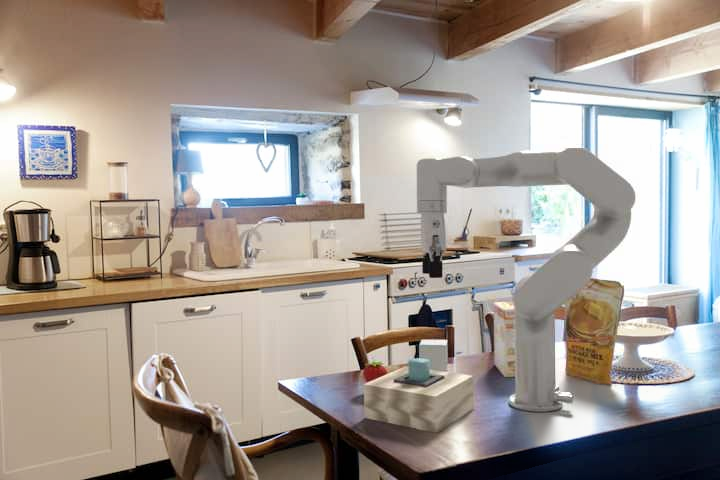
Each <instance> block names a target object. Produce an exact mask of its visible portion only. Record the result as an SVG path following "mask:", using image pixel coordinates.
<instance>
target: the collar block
mask: <svg viewBox="0 0 720 480" xmlns="http://www.w3.org/2000/svg"><path fill="white" fill-rule="evenodd" d="M474 393H475V391H474V376H473V375H470V374H463V373H455V372H449V371H448V372H442V371H435V370H430V379H429V380H427V381H425V382H420V381H413V380H409V369H408V366H407V365H405V366H403V367H400V368H398V369H395V370H394V371H391V372H389V373H387V374H386V375H384V376H382V377H380V378H377V379H375V380H373V381H370V382H368V383H367V382H365V383H364V384H363V405H364V406H363V407H364V409H363V410H364V412H363V413H364V419H367V420H374V421H378V422H382V423H387V424H393V425H397V426H402V427H407V428H412V429H415V428H416V430H422V431H426V432H431V433H439V432H440V431H442V430H443V429H445V428H447V427H448V426H450V425H451V424H452V423H454V422H456V421H457V420H458V419H460V418H462V417H464V416H465V415H466V414H468V413H470V412H471V411H472V410H474V409H475V403H474V402H475V401H474V400H475V398H474V397H475V394H474Z"/></svg>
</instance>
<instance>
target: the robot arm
mask: <svg viewBox="0 0 720 480" xmlns="http://www.w3.org/2000/svg"><path fill="white" fill-rule="evenodd" d="M566 185H567V186H570V187H571V188H573V189H574V191H576V192H577V193H578V194H579V195H581V197H583V199H585V200H587V201H588V202H589V203H591V204H592V205H593V209H594V212H593V216H592V218H591V219H590V220H589V221H588V223H587V224H586V225H585V226H584V227H583V228H581V230H579V232H577V233H576V234H575V235H574V236H573V237H572V238H571V239H569V240H568V241H566V243H565V244H563V245H562V246H561V247H559V248H557V249H556V250H554V252H552V254H551V255H550V256H549V259H548V260H547V261H546V262H545V263H544V264H543V265H541V267H539V268H538V269H537V270H536V271H534V273H533V274H530V275H526V276H524V277H522V278H521V279H519V281H518V282H517V283H516V285H515V287H514V290H513V295H512V302H513V305H514V331H515V332H514V333H515V377H514V383H515V384H514V386H515V387H514V389H515V392H514V394H511V395H510V396H509V398H508V403H509V405H510V406H511V407H514V408H516V409H518V410H522V411H527V412H535V413H537V412H539V413H541V412H543V413H544V412H552V411H556V410H559V409H561V408H562V407H563V403H564V404H570V405H572V404H573V402H574V396H573V395H572V393H570V392H562V391H561V390H560V385H558V384H557V385H556V322H555V321H556V317H555V312H557V310H559V309H560V308H561V307H562V306H563V305H565V303H566V302H567V301H568V300H569V299H570V298H572V297H573V296H574V295H575V294H576V293H578V292H579V291H580V290H581V289H582V288H583V287H584V286H585V285H586V284H587V283H588V282H589V280H590V278H592V276H593V272H594V269H595V268H596V267H597V266H598V265H599V264H600V263H601V262H603V261H604V260H605V259H606V258H607V257H608V256H609V255H610V254H611V253H613V252H614V250H616V249H617V248H618V247H619V245H621V243H622V242H623V241H624V239H625V238H626V236H627V235H628V232H629V231H630V230H629V229H630V226H631V222H632V221H631V220H632V208H633V207H634V205H635V203H636V191H635V188H634V187H633V186H632V184H630V182H628V180H626V179H625V178H624V177H622V176H621V175H620V174H619V173H617V172H616V171H615V170H614V169H613V168H611V167H610V166H609V165H607V164H606V163H605V162H604V161H602V160H601V159H600V158H599V157H597V155H595V154H594V153H593V152H591V151H590V150H588V149H587V148H586V147H584V146H581V145H571V146H568V147H565V148H559V149H544V150H543V149H541V150H540V149H539V150H521V151H515V152H511V153H509V154H506V155H500V156H494V157H481V158H480V157H478V158H470V157H468V156H464V155H463V156H462V155H458V156H452V157H447V158H438V157H437V158H436V157H430V158H429V157H428V158H427V157H426V158H422V159H418V161H417V163H416V214H417V215H420V247H421V251H422V258H421V259H422V260H421V261H422V263H421V265H422V274H423V275H424V274H425V275H426V274H428V277H429V278H430V279H442V278H443V255H442V254H445V253H446V252H447V239H446V238H447V237H446V232H447V231H446V221H445V220H446V219H445V214H447V213H448V203H447V202H448V199H447V197H448V195H447V194H448V186H451V187H458V188H463V189H468V188H491V187H512V188H522V187H540V186H541V187H543V186H566Z"/></svg>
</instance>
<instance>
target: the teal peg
mask: <svg viewBox="0 0 720 480" xmlns="http://www.w3.org/2000/svg"><path fill="white" fill-rule="evenodd" d="M407 361H408V363H407V365H408V366H407V367H408V369H409V380H413V381H420V382H425V381H427V380H429V379H430V362H429V360H428V359H422V358H419V357H417V358H411V359H408V360H407Z"/></svg>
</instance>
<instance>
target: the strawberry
mask: <svg viewBox="0 0 720 480" xmlns="http://www.w3.org/2000/svg"><path fill="white" fill-rule="evenodd" d="M371 357H372V359H373V361H371V362H369V363H365V364H364V366H365V367H364V369H363V376H364V377H363V378H364V380H365V383H368V382H370V381H373V380H375V379H377V378H380V377H382V376H384V375H386V374H388V371H387V369H386V367H384V366H382V365H383V362H382V361H377V362H376V361H375V358H373V356H371Z"/></svg>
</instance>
